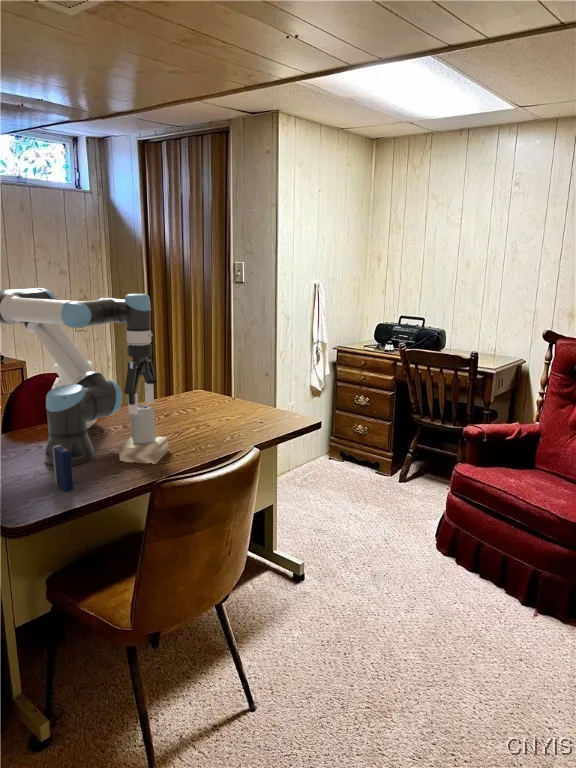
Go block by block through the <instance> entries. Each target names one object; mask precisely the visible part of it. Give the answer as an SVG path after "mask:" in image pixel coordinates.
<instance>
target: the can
mask: <svg viewBox="0 0 576 768" xmlns="http://www.w3.org/2000/svg"><path fill="white" fill-rule="evenodd" d="M155 416H156V415H155V410H154V409H153V406H152V405H150V404H138V414H130V422H131V424H130V425H131V427H130V428H131V437H132V441H133V442H135V443H136V444H140V445H145V444H150V443H152V442H153V441H154V440H155V439H156V437H157V436H156V434H157V433H156V417H155Z"/></svg>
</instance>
